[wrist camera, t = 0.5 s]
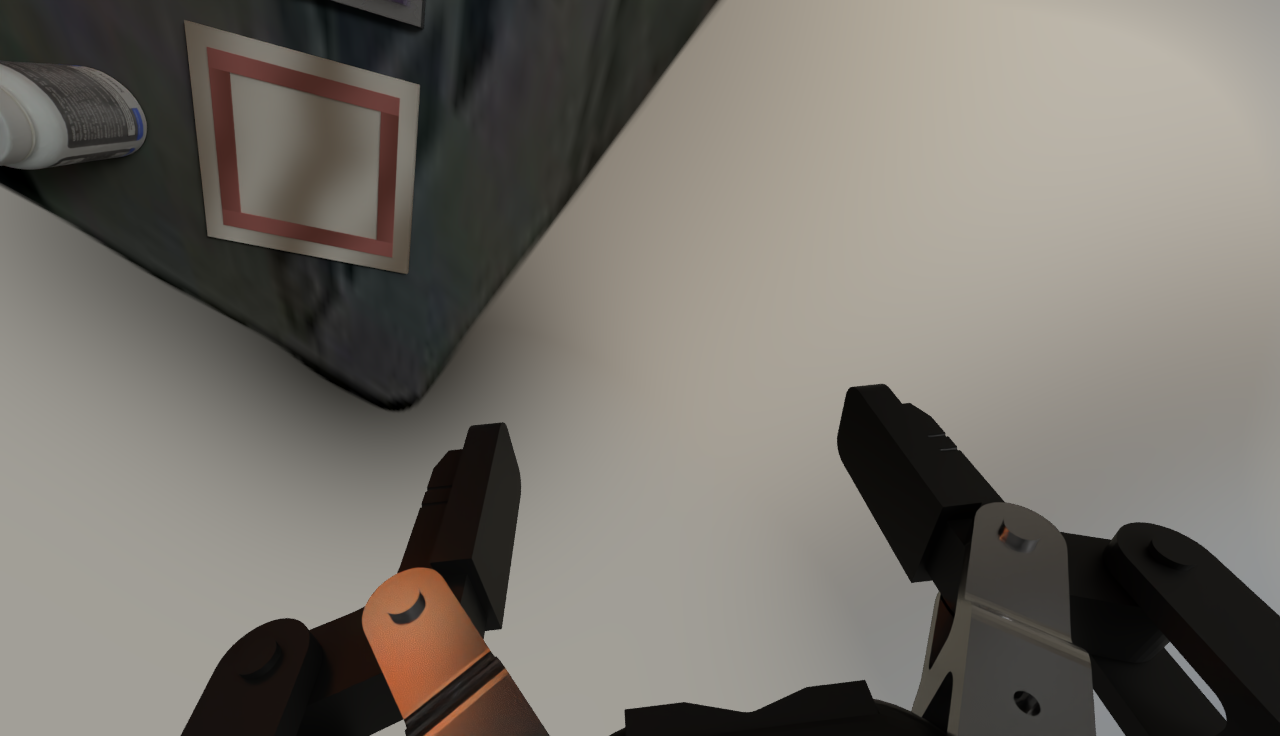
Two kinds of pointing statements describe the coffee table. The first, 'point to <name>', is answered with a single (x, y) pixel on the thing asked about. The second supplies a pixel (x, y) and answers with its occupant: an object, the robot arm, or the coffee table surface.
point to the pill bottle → (65, 116)
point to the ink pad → (392, 9)
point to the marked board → (303, 150)
